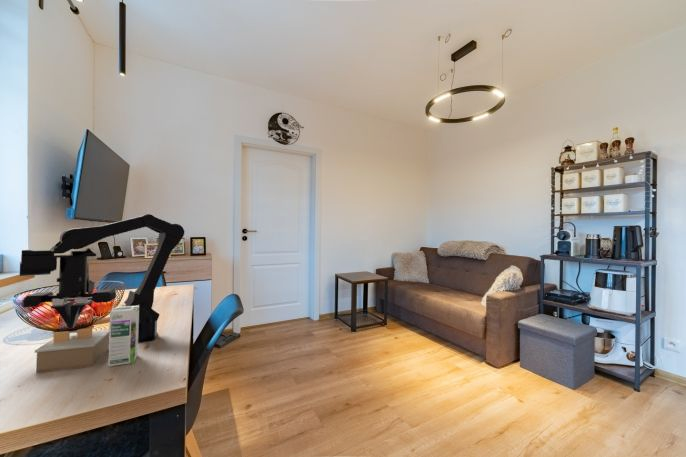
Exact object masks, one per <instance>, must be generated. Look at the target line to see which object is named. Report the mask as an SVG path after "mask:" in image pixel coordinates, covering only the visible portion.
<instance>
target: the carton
mask: <svg viewBox="0 0 686 457" xmlns="http://www.w3.org/2000/svg"><path fill="white" fill-rule="evenodd" d="M108 352H109V334H108V335H106V336H105V337H104V338H103V339H102V340H101V341H100V342H99V343H97V344H96V345H95V346H94V347H85V348H76V349H66V350H56V351H47V352H37V353H36V363H35V364H36V366H35V368H36V369H35V371H36V372H35V374H40V373H51V372H58V371H65V370H66V371H67V370H73V369H81V368H89V367H90V368H91V367H93V366H94V365H96V364H97V362H99V360H100V359H101V358H103V356H104V355H105V354H106V353H108Z"/></svg>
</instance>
